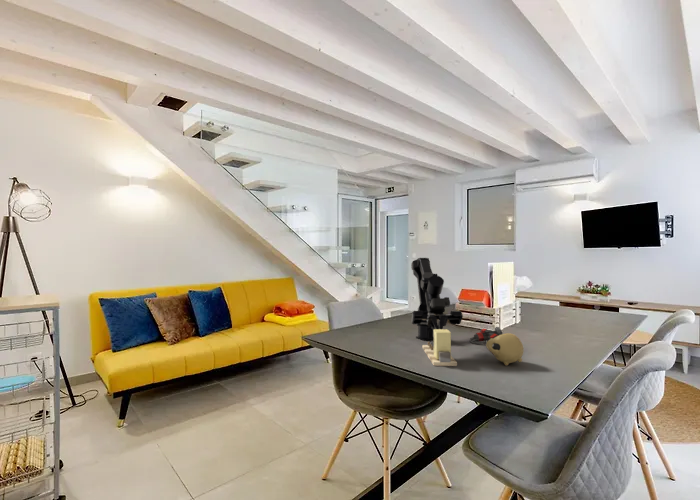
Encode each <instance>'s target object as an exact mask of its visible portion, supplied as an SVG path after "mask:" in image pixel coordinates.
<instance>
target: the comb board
mask: <svg viewBox="0 0 700 500" xmlns="http://www.w3.org/2000/svg"><path fill="white" fill-rule="evenodd" d="M422 350H423V351H424V353H425V354H426V356H427V357H428V359H429V360H430V362H431V364H432V365H433V366H435V367H438V366H439V367H440V366H441V367H448V366H449V367H452V366H453V367H457V366H458V362H457V360H456V359H455V358H454V357H453V356H452V352H451V353H450V352H449V351H439V359H436V358H435V356H434V340H430V341H427V344H422Z"/></svg>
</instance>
